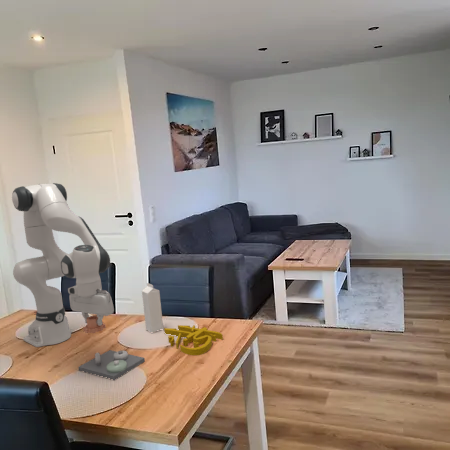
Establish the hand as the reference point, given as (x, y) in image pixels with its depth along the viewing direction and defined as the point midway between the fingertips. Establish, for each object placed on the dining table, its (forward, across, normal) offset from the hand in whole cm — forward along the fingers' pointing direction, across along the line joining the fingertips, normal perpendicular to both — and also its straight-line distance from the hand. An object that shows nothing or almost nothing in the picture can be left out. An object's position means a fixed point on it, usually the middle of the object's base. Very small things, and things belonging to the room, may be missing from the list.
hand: (93, 323), depth 163 cm
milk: (+18, +5, -38) cm, 42 cm away
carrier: (+17, -4, -3) cm, 18 cm away
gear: (+2, 0, 0) cm, 2 cm away
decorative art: (+18, -17, -34) cm, 42 cm away
